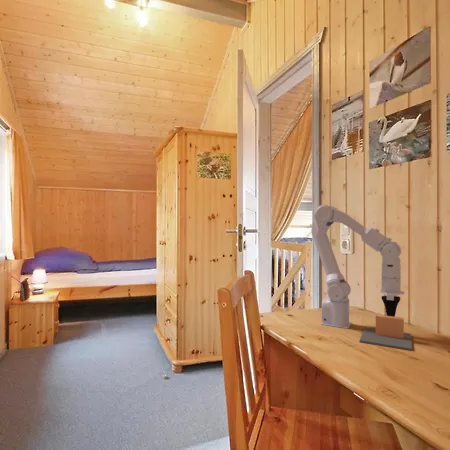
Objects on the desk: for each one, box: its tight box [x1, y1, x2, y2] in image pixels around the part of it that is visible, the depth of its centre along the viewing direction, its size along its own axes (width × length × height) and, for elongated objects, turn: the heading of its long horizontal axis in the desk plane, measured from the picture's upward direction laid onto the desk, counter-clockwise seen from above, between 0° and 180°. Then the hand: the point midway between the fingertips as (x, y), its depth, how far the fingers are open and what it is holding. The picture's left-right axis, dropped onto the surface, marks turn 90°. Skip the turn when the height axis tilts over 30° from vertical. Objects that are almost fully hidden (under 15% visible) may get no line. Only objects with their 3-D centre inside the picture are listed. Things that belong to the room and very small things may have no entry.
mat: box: [359, 326, 413, 352], centre depth 105 cm, size 14×16×1 cm
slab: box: [375, 314, 405, 339], centre depth 106 cm, size 8×2×6 cm, turn 62°
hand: (390, 318), depth 111 cm, fingers closed
